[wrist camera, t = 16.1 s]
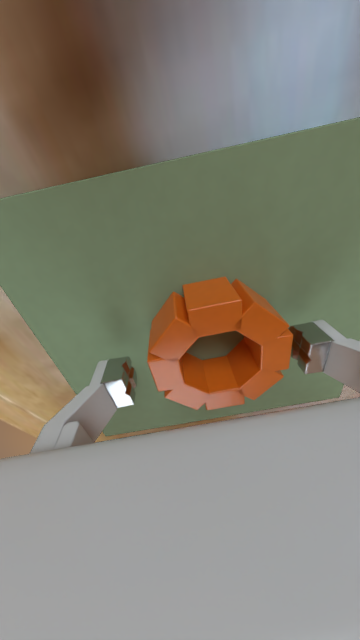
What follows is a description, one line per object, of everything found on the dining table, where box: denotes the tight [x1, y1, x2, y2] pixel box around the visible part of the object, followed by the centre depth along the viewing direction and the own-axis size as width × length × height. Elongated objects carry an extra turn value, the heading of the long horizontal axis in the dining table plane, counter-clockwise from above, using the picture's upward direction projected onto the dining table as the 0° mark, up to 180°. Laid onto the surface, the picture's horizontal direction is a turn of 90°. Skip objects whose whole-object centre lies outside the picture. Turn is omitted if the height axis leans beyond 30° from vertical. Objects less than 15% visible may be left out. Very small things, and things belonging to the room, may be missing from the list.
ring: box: [147, 277, 293, 410], centre depth 11 cm, size 6×6×2 cm
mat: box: [0, 117, 360, 436], centre depth 12 cm, size 18×16×1 cm
